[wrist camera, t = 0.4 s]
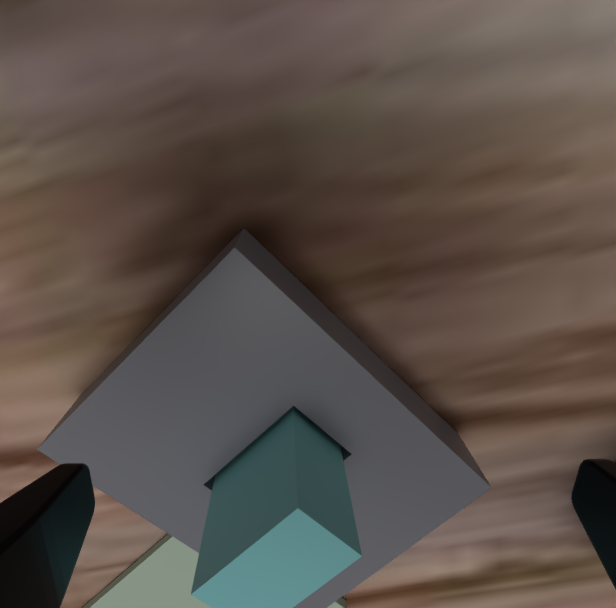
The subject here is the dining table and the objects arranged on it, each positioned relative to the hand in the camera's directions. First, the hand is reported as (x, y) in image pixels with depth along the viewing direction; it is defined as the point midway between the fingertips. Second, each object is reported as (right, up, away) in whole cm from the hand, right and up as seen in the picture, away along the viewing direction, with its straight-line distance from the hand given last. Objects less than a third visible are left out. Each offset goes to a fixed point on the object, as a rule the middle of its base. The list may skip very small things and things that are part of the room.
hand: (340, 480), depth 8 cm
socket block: (-2, -3, +15) cm, 15 cm away
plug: (-2, -3, +15) cm, 15 cm away
